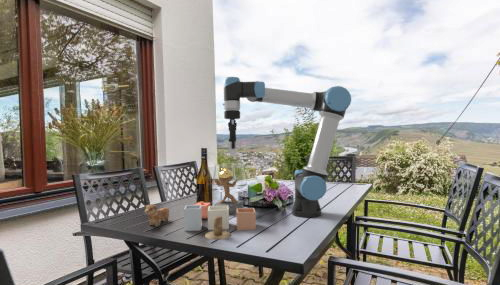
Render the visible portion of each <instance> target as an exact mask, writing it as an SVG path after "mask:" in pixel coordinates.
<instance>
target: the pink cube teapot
mask: <svg viewBox="0 0 500 285" xmlns="http://www.w3.org/2000/svg"><path fill="white" fill-rule="evenodd" d="M211 204H212V203H211V202H204V201H200V202H197V203H195V204H194V205H202V219H208V207H209V206H212V205H211Z"/></svg>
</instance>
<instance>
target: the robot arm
mask: <svg viewBox="0 0 500 285" xmlns="http://www.w3.org/2000/svg"><path fill="white" fill-rule="evenodd" d="M240 98H241V99H244V98H246V99H247V101H249V102H252V103H255V102H256V103H257V102H258V103H266V104H273V105H274V104H275V105H282V106H283V105H284V106H291V107H298V108H307V109H309V110H311V111H314V112H318V113H319V115H320V120H319V123H318V127H317V131H316V133H315V138H314V142H313V145H312V149H311V152H310V156H309V159H308V163H307V165H306V166H304V167H303V169H296V170H295V171H294V201H293V204H292V207H291V214H292V215H293V216H295V217H300V218H317V217H319V216H322V208H321V205H320V202H319V200H321V199H322V198H323V197H324V196H325V194H326V193H327V184H326V183H327V179H328V176H329V175H328V173H327V167H328V163H329V159H330V156H331V153H332V149H333V145H334V141H335V138H336V135H337V134H336V133H337V130H338V127H339V123H340V121H342V120H344V118H345V115H346V111H347V109H348V108H349V107H350V105H351V103H352V95H351V93H350V91H349V90H348V89H347V88H345V87H343V86H341V85H337V86H336V85H335V86H331V87H330V88H328V89H327V90H326V91H313V92H312V93H311V92H303V91H295V90H285V89H278V88H271V87H266V84H265V82H264V81H259V80H258V81H257V80H256V81H241V80H240V77H237V76H227V77H225V78H224V79H223V103H222V105H223V106H224V108H223V110H224V111H223V114H224V119H225V120H229V122H227V126H228V131H229V139H228V143H229V155H230V157H237V133H236V131H237V126H238V124H237V121H236V120H239V119H241V99H240Z"/></svg>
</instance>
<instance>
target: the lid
mask: <svg viewBox="0 0 500 285" xmlns="http://www.w3.org/2000/svg"><path fill="white" fill-rule="evenodd" d="M204 236H205V238H206V239H209V240H217V241H218V240H225V239H227V238H228V239H229V238H230V237H231V236H232V234H231V232H230V231H227V230H222V217H221V216H216V217H214V230H209V231H208V232H206V233H205V235H204Z"/></svg>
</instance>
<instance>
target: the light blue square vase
mask: <svg viewBox="0 0 500 285" xmlns="http://www.w3.org/2000/svg"><path fill="white" fill-rule="evenodd" d="M183 227H184V228H183V230H184V231H183V232H191V231H198V232H199V231H201V230H202V227H203V218H202V205H195V204H191V205H190V204H189V205H185V206H184V208H183Z"/></svg>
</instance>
